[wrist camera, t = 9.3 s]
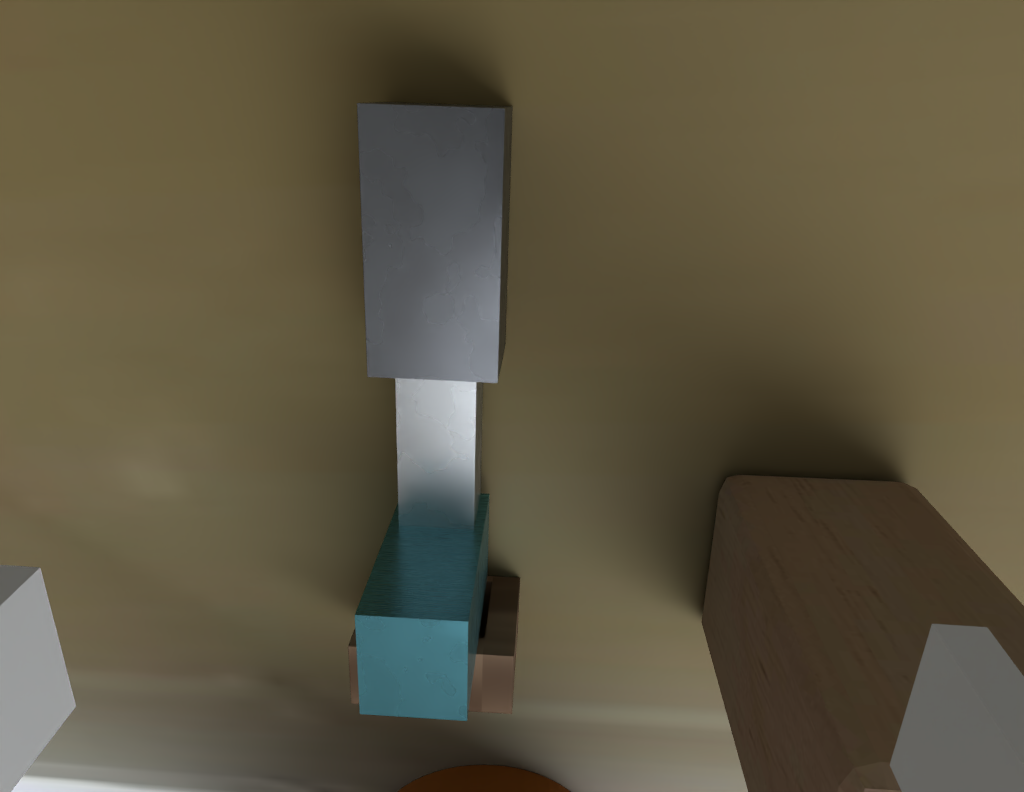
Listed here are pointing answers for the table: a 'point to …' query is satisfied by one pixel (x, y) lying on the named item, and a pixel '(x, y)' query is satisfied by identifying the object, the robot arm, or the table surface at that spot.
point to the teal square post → (428, 561)
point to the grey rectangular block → (435, 238)
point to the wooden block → (834, 622)
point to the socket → (483, 649)
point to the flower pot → (483, 780)
